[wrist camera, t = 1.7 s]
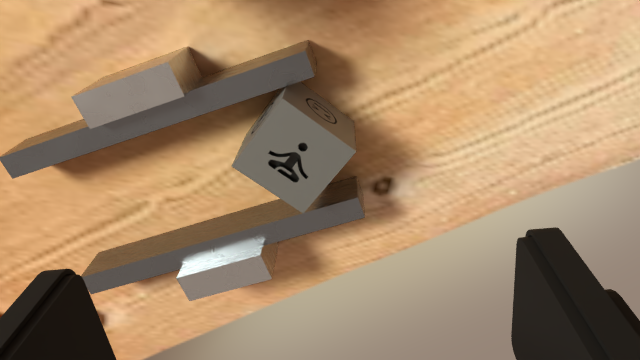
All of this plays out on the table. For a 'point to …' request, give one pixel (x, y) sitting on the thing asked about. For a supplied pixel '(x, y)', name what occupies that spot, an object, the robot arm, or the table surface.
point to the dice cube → (297, 146)
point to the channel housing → (167, 109)
